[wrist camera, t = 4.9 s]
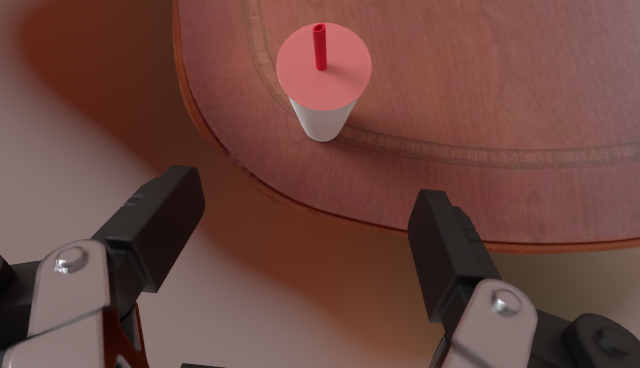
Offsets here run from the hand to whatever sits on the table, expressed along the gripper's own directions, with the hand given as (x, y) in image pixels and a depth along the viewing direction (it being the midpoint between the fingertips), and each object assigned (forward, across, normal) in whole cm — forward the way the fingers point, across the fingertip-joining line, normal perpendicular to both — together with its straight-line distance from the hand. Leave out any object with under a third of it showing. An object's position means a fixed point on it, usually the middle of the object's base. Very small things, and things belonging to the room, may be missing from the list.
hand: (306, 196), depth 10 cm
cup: (+15, 0, +4) cm, 16 cm away
